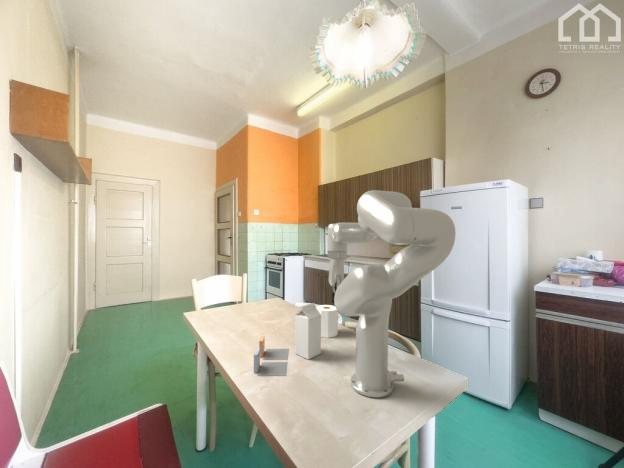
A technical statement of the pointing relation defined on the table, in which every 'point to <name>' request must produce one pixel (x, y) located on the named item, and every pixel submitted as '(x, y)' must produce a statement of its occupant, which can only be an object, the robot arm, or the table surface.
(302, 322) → the milk carton
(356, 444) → the table surface
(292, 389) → the table surface
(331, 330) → the toilet paper
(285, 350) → the tag station
